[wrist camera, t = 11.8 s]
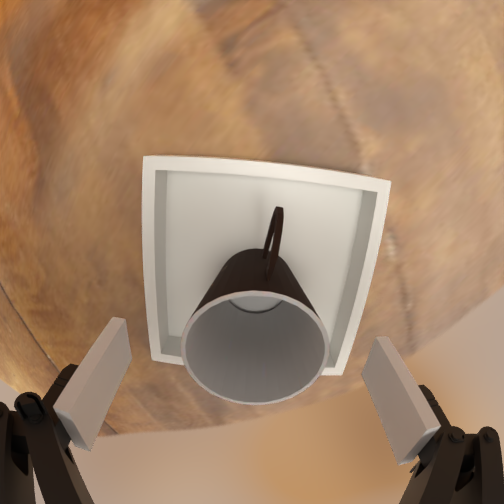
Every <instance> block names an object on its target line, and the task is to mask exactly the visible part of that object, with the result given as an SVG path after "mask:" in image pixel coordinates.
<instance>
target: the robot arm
mask: <svg viewBox="0 0 504 504" xmlns="http://www.w3.org/2000/svg"><path fill="white" fill-rule="evenodd" d="M131 361H132V355H131V349H130V344H129V338H128V331H127V325H126V319H123V318H117V317H112V318H111V320H110V321H109V323H108V324H107V325H106V327H105V328H104V330H103V331H102V332H101V334H100V335H99V337H98V338H97V340H96V341H95V343H94V344H93V345H92V347H91V348H90V350H89V351H88V353H87V354H86V356H85V357H84V359H83V360H82V362H81V363H80V365H79V366H78V365H74V364H70V365H68V366H67V367H65V368H64V369H63V370H62V371H61V373H60V374H59V375H58V378H56V380H55V381H54V384H52V386H51V387H50V389H49V390H48V392H47V393H46V395H45V396H44V398H43V399H42V400H41V398H40V396H39V395H37V394H36V393H33V392H25V393H23V394H21V395H19V396H18V397H17V398H16V400H15V403H14V407H15V409H16V410H17V411H10V410H9V409H8V407H7V406H6V404H4V403H3V402H0V504H36V502H35V493H34V479H33V468H34V471H35V474H36V478H37V481H38V484H39V487H40V490H41V493H42V495H43V498H44V501H45V504H94V502H93V500H92V498H91V496H90V494H89V492H88V490H87V488H86V486H85V483H84V481H83V479H82V477H81V475H80V472H79V470H78V468H77V465H76V463H75V460H74V458H73V455H72V453H71V450H70V448H69V447H68V445H69V442H70V440H72V442H73V443H74V445H75V446H76V447H79V448H82V449H84V450H87V451H91V449H92V446H93V444H94V442H95V439H96V437H97V435H98V432H99V430H100V428H101V425H102V423H103V421H104V419H105V416H106V414H107V412H108V410H109V407H110V405H111V403H112V401H113V399H114V396H115V394H116V392H117V390H118V388H119V386H120V384H121V381H122V379H123V377H124V375H125V373H126V371H127V369H128V367H129V365H130V363H131ZM362 377H363V379H364V381H365V384H366V386H367V388H368V391H369V393H370V396H371V398H372V400H373V403H374V405H375V407H376V410H377V413H378V415H379V417H380V420H381V422H382V425H383V427H384V430H385V432H386V435H387V438H388V440H389V443H390V445H391V447H392V451H393V453H394V456H395V458H396V461H397V464H398V465H401V464H405V463H409V462H412V461H413V460H414V459H415V457H416V456H417V455H418V456H419V458H420V461H419V462H418V463H417V464H416V465H415V466H414V467H413V468H412V469H411V471H410V473H412V472H413V471H414V473H413V475H412V477H411V480H410V482H409V484H408V486H407V488H406V490H405V492H404V495H403V497H402V499H401V501H400V503H399V504H504V477H503V476H504V474H503V464H502V455H501V447H500V441H499V436H498V433H497V432H496V430H495V429H493V428H492V427H483V428H481V430H480V431H479V432H478V433H477V434H465V432H464V431H463V430H462V429H460V428H458V427H455V426H451V425H450V423H449V421H448V419H447V418H446V416H445V414H444V413H443V411H442V409H441V407H440V406H439V405H438V402H437V401H436V400H435V397H434V396H433V394H432V392H431V391H430V390H429V389H428V388H427V387H426V386H424V385H417V383H416V381H415V380H414V378H413V376H412V375H411V373H410V371H409V370H408V368H407V366H406V365H405V363H404V361H403V360H402V358H401V357H400V355H399V353H398V352H397V350H396V349H395V347H394V345H393V344H392V342H391V341H390V339H389V338H388V336H381V337H375V340H374V343H373V346H372V348H371V351H370V354H369V356H368V359H367V361H366V364H365V367H364V369H363V372H362ZM414 469H415V470H414Z"/></svg>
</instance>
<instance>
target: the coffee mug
mask: <svg viewBox="0 0 504 504" xmlns="http://www.w3.org/2000/svg"><path fill="white" fill-rule="evenodd" d="M283 221H284V210H283V207H278V206H276V207H275V209H274V212H273V215H272V218H271V222H270V225H269V229H268V233H267V237H266V240H265V244H264V248H263V249H258V248H253V249H246V250H243V251H240V252H238V253H236V254H235V255H233V256H232V257H231V258H230V259H228V261H227V262H226V263H225V264H224V266H223V267H222V269H221V270H220V272H219V274H218V275H217V277H216V278H215V280H214V281H213V283H212V284H211V286H210V288H209V289H208V291H207V292H206V294H205V295H204V297H203V299H202V300H201V302H200V303H199V305H198V306H197V308H196V310H195V311H194V313H193V314H192V316H191V318H190V319H189V321H188V322H187V324H186V327H185V329H184V331H183V333H182V338H181V344H180V347H181V357H182V360H183V363H184V366H185V368H186V369H187V371H188V373H189V374H190V376H191V377H192V378H193V379H194V380H195V382H196V383H197V384H198V385H199V386H201V387H202V388H203V389H205V390H206V391H207V392H209V393H211V394H213V395H215V396H216V397H218V398H221V399H224V400H226V401H229V402H233V403H238V404H243V405H266V404H273V403H277V402H282V401H284V400H287V399H290V398H292V397H294V396H296V395H298V394H300V393H302V392H303V391H305V390H306V389H307V388H308V387H310V386H311V385H312V384H313V383H314V382H315V381H316V380H317V379H318V378H319V376H320V375H321V374H322V372H323V370H324V368H325V366H326V364H327V361H328V357H329V350H330V342H329V338H328V334H327V330H326V329H325V327H324V325H323V323H322V321H321V319H320V318H319V316H318V314H317V313H316V311H315V309H314V308H313V306H312V304H311V303H310V301H309V299H308V298H307V296H306V294H305V293H304V291H303V289H302V288H301V286H300V284H299V283H298V281H297V279H296V278H295V276H294V275H293V273H292V271H291V270H290V268H289V266H288V265H287V263H286V262H285V261H284V260H283V259H282V258H281V257H280V256H278V255H279V249H280V243H281V237H282V230H283ZM273 234H274V235H273ZM272 237H273V242H272V247H271V251H269V248H270V244H271V241H272Z"/></svg>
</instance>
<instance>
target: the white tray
mask: <svg viewBox="0 0 504 504" xmlns="http://www.w3.org/2000/svg"><path fill="white" fill-rule="evenodd" d="M390 187H391V181H389V180H385V179H381V178H378V177H374V176H369V175H364V174H358V173H352V172H346V171H340V170H334V169H327V168H320V167H313V166H306V165H298V164H290V163H281V162H272V161H262V160H251V159H239V158H226V157H210V156H189V155H149V156H143V174H142V251H143V273H144V289H145V302H146V314H147V324H148V333H149V342H150V350H151V358H152V360H154V361H159V362H166V363H172V364H178V365H184V363H183V360H182V357H181V347H180V344H181V338H182V333H183V331H184V329H185V327H186V324H187V322H188V321H189V319H190V318H191V316H192V314H193V313H194V311H195V310H196V308H197V306H198V305H199V303H200V302H201V300H202V299H203V297H204V295H205V294H206V292H207V291H208V289H209V288H210V286H211V284H212V283H213V281H214V280H215V278H216V277H217V275H218V274H219V272H220V270H221V269H222V267H223V266H224V264H225V263H226V262H227V261H228V259H230V258H231V257H232V256H233V255H235V254H236V253H238V252H240V251H243V250H246V249H253V248H258V249H263V248H264V244H265V240H266V237H267V233H268V229H269V225H270V222H271V218H272V215H273V212H274V209H275V207H276V206H278V207H283V210H284V221H283V230H282V237H281V243H280V249H279V255H278V256H280V257H281V258H282V259H283V260H284V261H285V262H286V263H287V265H288V266H289V268H290V270H291V271H292V273H293V275H294V276H295V278H296V279H297V281H298V283H299V284H300V286H301V288H302V289H303V291H304V293H305V294H306V296H307V298H308V299H309V301H310V303H311V304H312V306H313V308H314V309H315V311H316V313H317V314H318V316H319V318H320V319H321V321H322V323H323V325H324V327H325V329H326V330H327V334H328V338H329V342H330V350H329V357H328V361H327V364H326V366H325V368H324V370H323V372H322V374H321V375H342V374H343V371H344V369H345V366H346V363H347V360H348V357H349V354H350V351H351V348H352V345H353V342H354V339H355V336H356V333H357V330H358V326H359V323H360V320H361V317H362V313H363V310H364V306H365V303H366V299H367V295H368V292H369V288H370V284H371V280H372V276H373V272H374V268H375V264H376V260H377V255H378V251H379V246H380V242H381V237H382V232H383V227H384V222H385V216H386V211H387V205H388V199H389V193H390ZM273 235H274V234H273ZM272 242H273V237H272V241H271V244H270V248H269V251H271V247H272Z"/></svg>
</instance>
